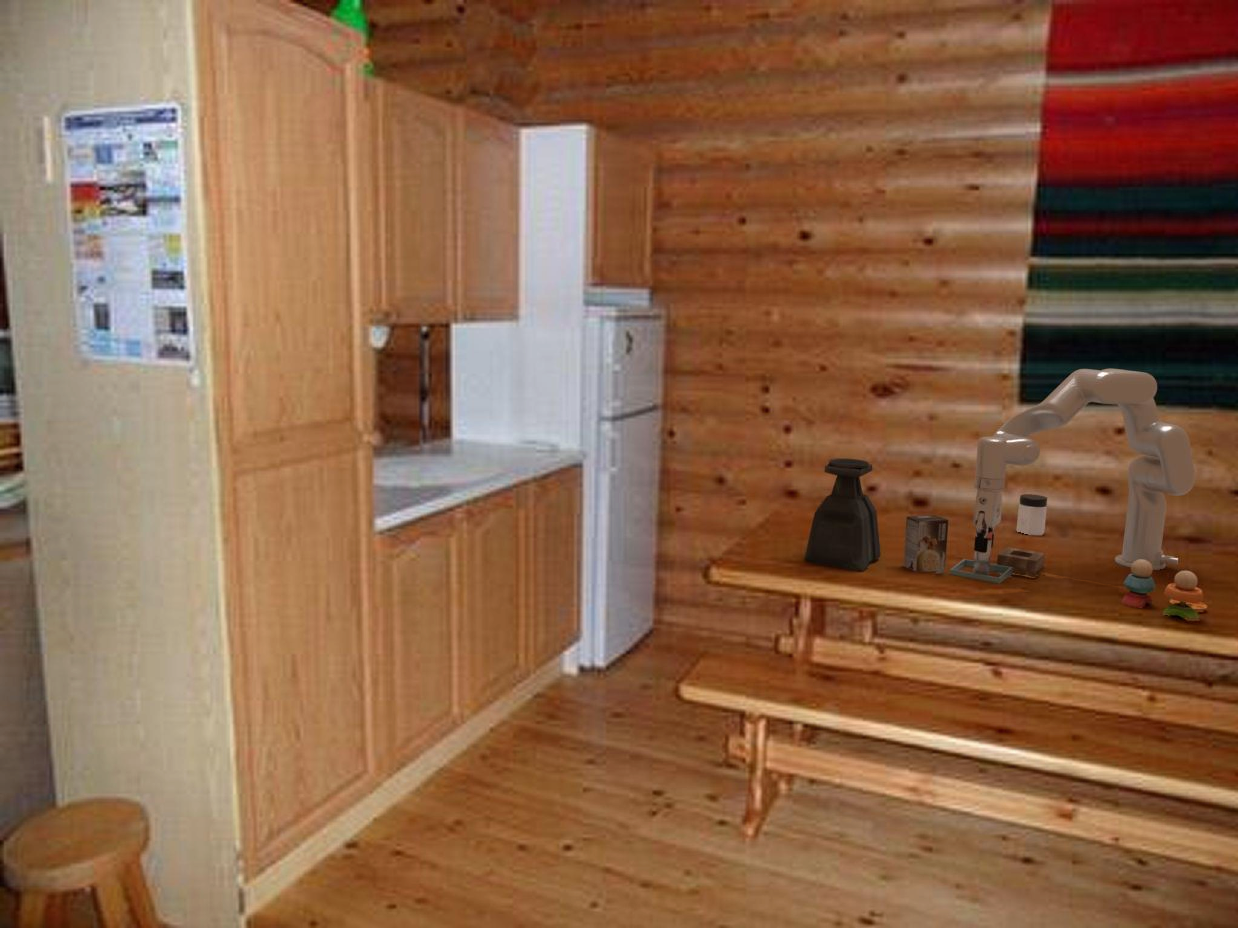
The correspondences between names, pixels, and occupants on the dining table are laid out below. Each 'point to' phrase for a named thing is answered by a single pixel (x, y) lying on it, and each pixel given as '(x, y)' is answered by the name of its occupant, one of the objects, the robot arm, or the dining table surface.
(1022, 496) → the jar
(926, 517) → the coffee box
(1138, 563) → the wooden stacking toy
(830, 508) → the bottle
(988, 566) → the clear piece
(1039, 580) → the dining table surface
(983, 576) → the tray
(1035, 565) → the block
